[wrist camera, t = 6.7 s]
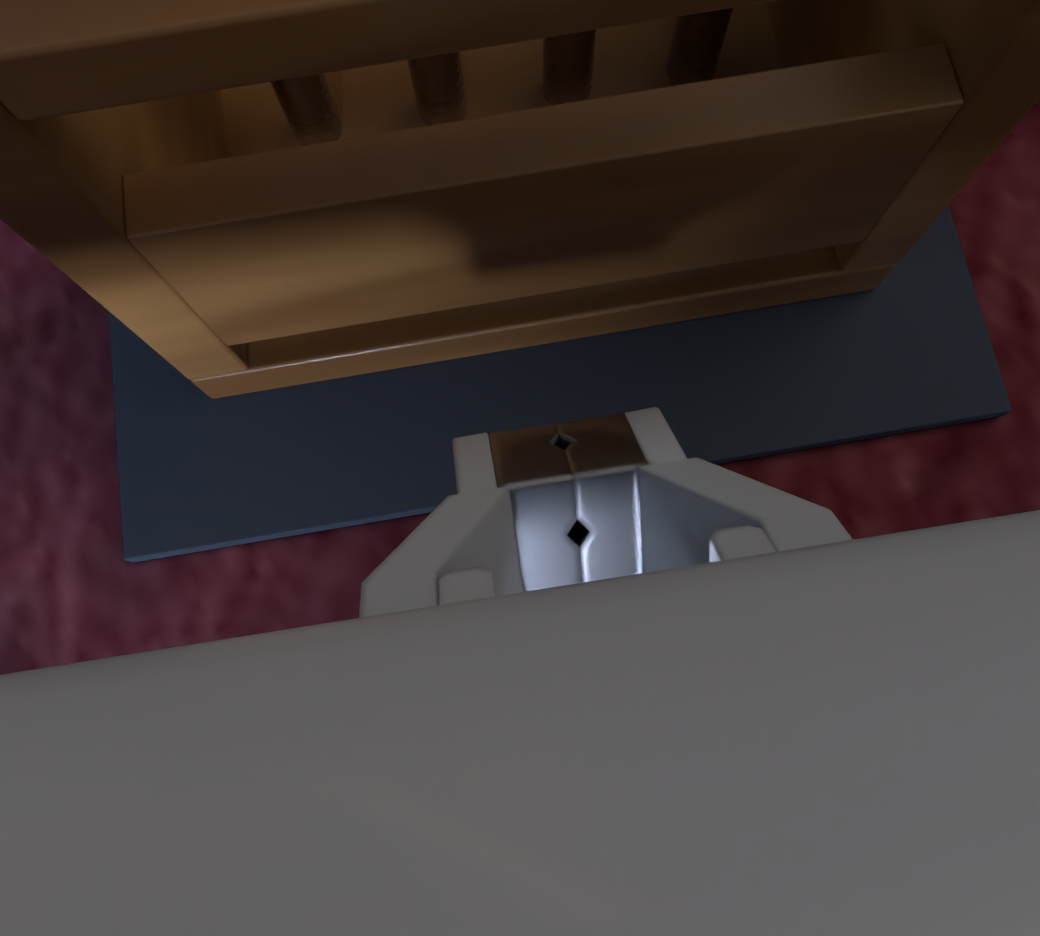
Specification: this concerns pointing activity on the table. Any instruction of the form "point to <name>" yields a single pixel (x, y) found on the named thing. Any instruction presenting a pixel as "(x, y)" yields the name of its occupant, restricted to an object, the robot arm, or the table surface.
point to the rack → (484, 163)
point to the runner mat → (546, 406)
